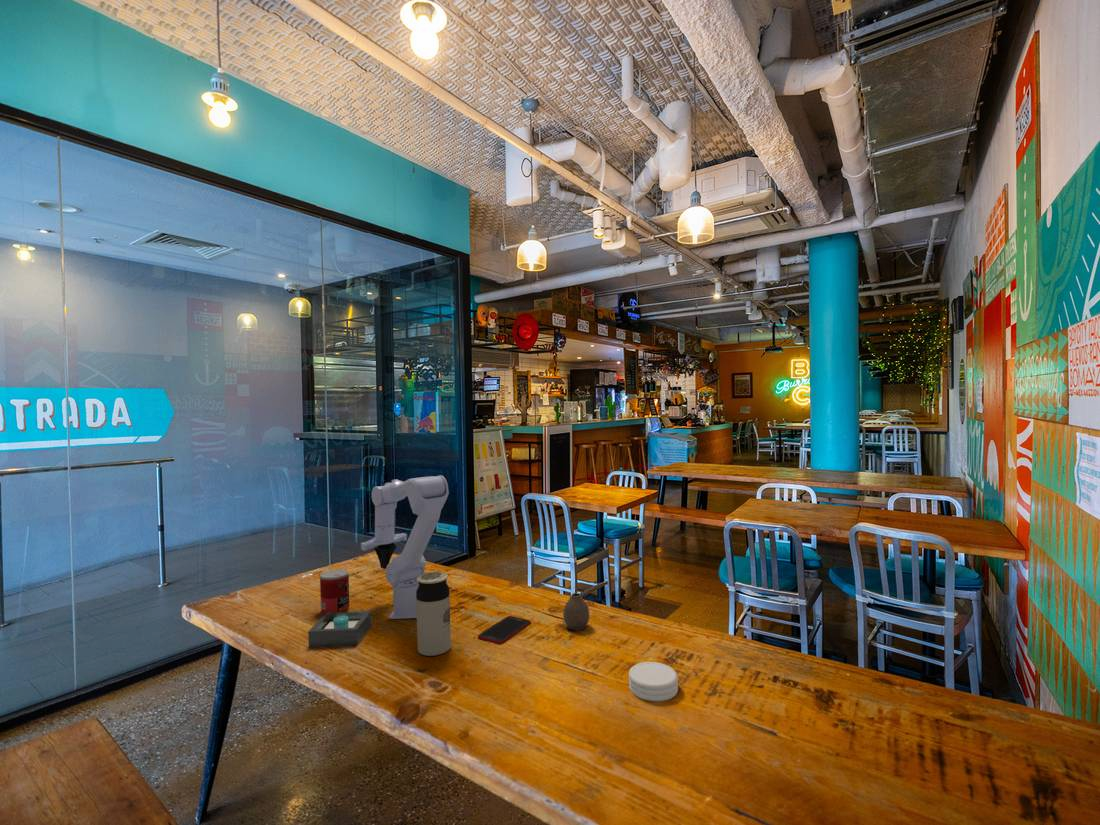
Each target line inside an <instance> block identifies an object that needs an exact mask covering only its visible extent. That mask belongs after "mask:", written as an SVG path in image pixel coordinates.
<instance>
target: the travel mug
mask: <svg viewBox="0 0 1100 825" xmlns="http://www.w3.org/2000/svg"><path fill="white" fill-rule="evenodd" d="M448 578H449V576H448V573H446V572H442V571H431V572H429V571H428V572H424V574H422V575H420V576H418V577H417V581H418V584H419V586H418V588H417V590H416V605H417V618H416V633H417V637H416V638H417V652H418V653H419V654H420V655H423V656H428V657H435V656H440V655H443V654H445V653H447V652H448V651H449V650H450V649H451V647H452V644H451V643H452V642H451V641H452V638H451V636H452V635H451V634H452V633H451V632H452V631H451V604H450V602H451V601H450V587H449V584H448V582H447V581H448Z"/></svg>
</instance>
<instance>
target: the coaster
mask: <svg viewBox="0 0 1100 825" xmlns="http://www.w3.org/2000/svg"><path fill="white" fill-rule="evenodd" d="M678 676H679V675H678V673H677V672H676V670H674V668H672V667H671V666H669V665H668V664H665V663H661V662H658V661H657V662H656V661H643V662H639V663H637V664H634V665H633V666H632V667H630V669H629V670H628V682H629V683H628V686H629V689H630V692H631V693H632V694H633V695H635V696H636V697H638V698H640V699H642V700H644V701H649V702H664V701H668V700H671V699H673V698H674V697H675V696H676V695H677V694H678V691H679V687H678V685H679V681H678V678H679V677H678Z"/></svg>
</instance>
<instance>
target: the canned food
mask: <svg viewBox="0 0 1100 825" xmlns="http://www.w3.org/2000/svg"><path fill="white" fill-rule="evenodd" d="M349 577H350V576H349V571H348V570H346V569H341V568H339V569H330V570H326V571H324V572H322V573H321V574H320V575H319V588H320V589H319V590H320V611H321V613H322V614H323V615H325V614H326V613H327V612H348V610H349V609H350V578H349Z"/></svg>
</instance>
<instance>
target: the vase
mask: <svg viewBox="0 0 1100 825" xmlns="http://www.w3.org/2000/svg"><path fill="white" fill-rule="evenodd" d="M589 609H590V608H589V606H588V603H587V602H586V601H585V600H584V599H583V597H582V595H581V594H580V593H578V592H574V593H572V594H571V595H570V597H569V599H567V601H566V603H565V605H564V608H563V611H562V612H563V613H562V614H563V616H562V617H563V621H564V623H565V625H566V627H567V628H569V630H572V631H581V630H584V629H585V628H586V627H587V625H588V623H589V620H590V610H589Z"/></svg>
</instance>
